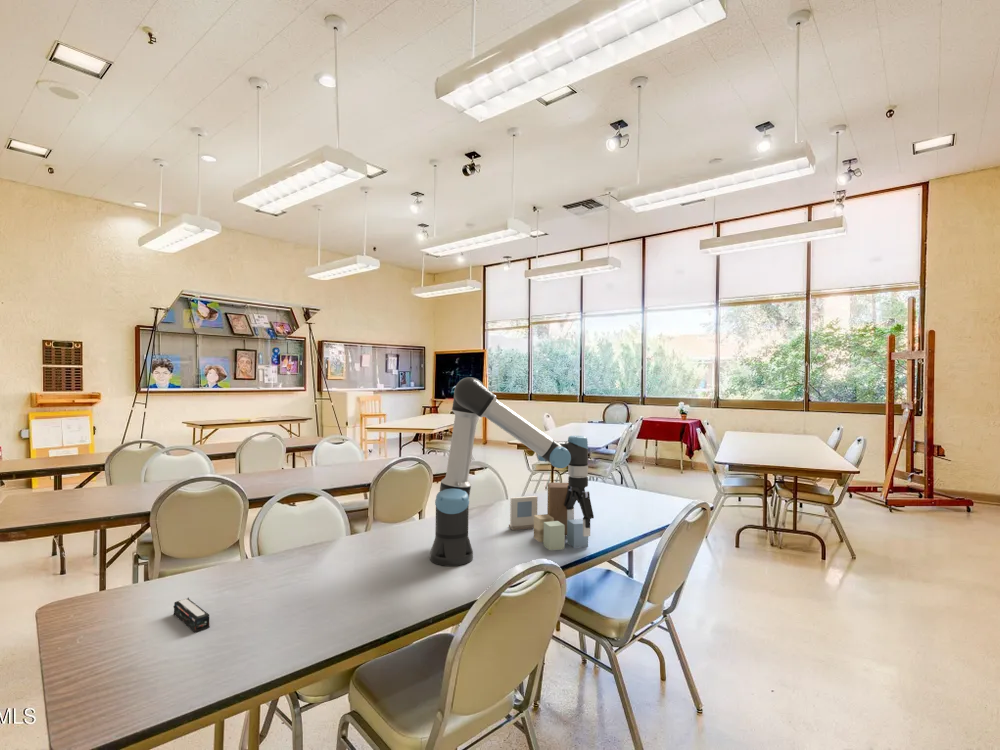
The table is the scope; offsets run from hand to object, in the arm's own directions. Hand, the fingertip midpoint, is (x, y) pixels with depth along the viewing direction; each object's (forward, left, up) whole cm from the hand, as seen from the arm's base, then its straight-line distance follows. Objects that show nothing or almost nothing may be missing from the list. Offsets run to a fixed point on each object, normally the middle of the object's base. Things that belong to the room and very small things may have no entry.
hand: (578, 530), depth 194 cm
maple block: (-10, +10, -5) cm, 15 cm away
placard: (-12, +27, -5) cm, 30 cm away
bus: (-125, -28, -6) cm, 128 cm away
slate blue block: (0, 0, -5) cm, 5 cm away
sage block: (-10, 0, -5) cm, 12 cm away
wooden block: (0, +16, -6) cm, 17 cm away
